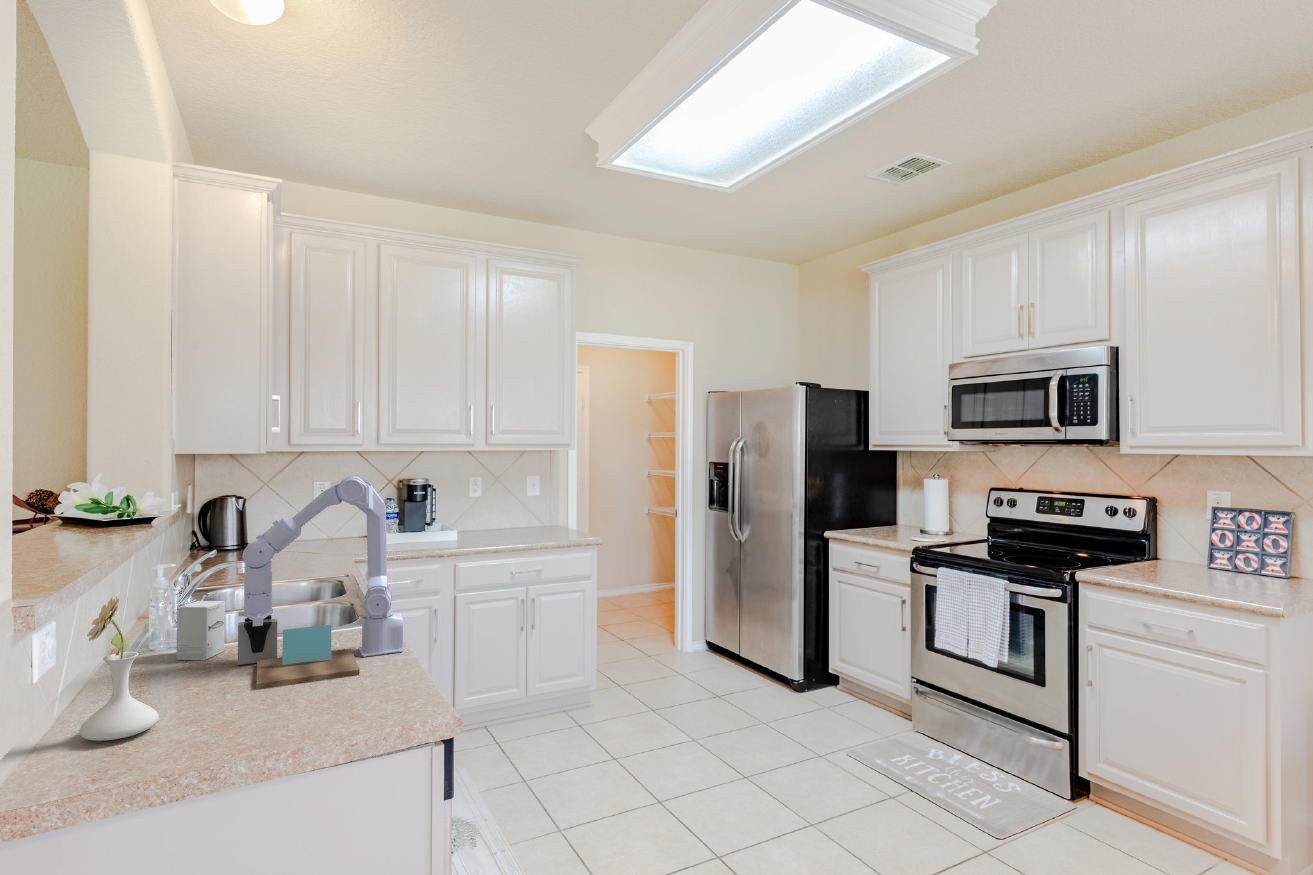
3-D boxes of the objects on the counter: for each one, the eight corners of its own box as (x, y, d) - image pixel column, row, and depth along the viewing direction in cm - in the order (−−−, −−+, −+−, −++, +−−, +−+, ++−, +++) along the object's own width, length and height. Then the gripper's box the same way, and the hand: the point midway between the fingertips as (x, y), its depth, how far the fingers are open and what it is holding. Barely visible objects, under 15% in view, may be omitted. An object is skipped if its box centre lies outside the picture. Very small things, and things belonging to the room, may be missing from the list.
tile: (330, 624, 165) (331, 624, 165) (331, 658, 164) (331, 658, 163) (282, 629, 160) (282, 629, 160) (282, 664, 159) (282, 664, 158)
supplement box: (205, 660, 167) (206, 607, 167) (175, 660, 167) (175, 606, 167) (225, 651, 174) (226, 600, 174) (196, 651, 174) (196, 600, 174)
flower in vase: (90, 726, 128) (92, 588, 128) (165, 717, 132) (167, 584, 133) (64, 756, 116) (66, 604, 116) (148, 744, 121) (149, 598, 121)
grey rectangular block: (276, 655, 169) (277, 618, 169) (277, 659, 166) (277, 621, 166) (238, 660, 165) (238, 622, 166) (237, 665, 162) (238, 625, 162)
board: (350, 653, 173) (350, 648, 173) (359, 674, 157) (359, 669, 157) (257, 665, 163) (257, 660, 163) (256, 689, 147) (256, 683, 148)
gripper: (239, 588, 170) (239, 644, 170) (237, 600, 158) (236, 660, 158) (272, 585, 174) (272, 640, 174) (273, 596, 161) (272, 656, 161)
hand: (257, 649), depth 166 cm, fingers closed on grey rectangular block, 3 cm apart
